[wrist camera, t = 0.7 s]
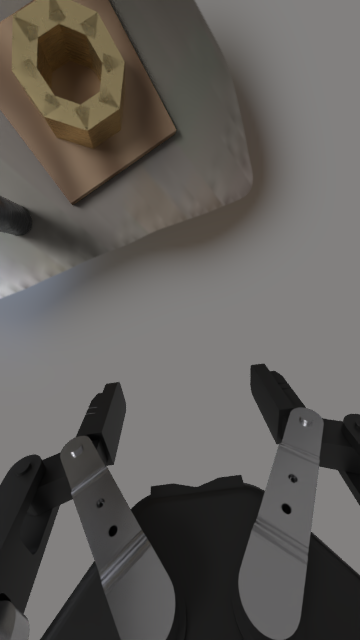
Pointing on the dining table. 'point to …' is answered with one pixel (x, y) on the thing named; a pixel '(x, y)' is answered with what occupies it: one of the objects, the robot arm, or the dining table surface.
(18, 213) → the steel pin
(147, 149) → the nut base
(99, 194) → the dining table surface
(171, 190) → the dining table surface
